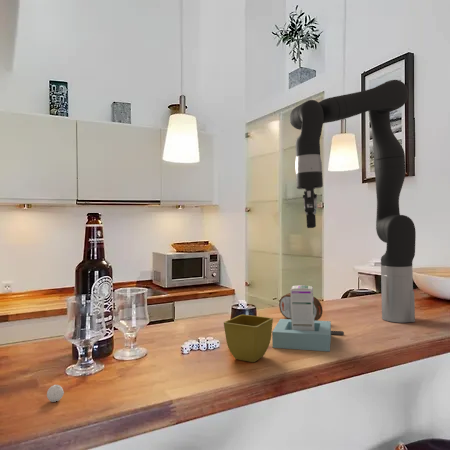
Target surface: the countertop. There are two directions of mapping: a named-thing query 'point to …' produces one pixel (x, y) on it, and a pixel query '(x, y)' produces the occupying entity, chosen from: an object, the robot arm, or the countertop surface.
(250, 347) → the flower pot
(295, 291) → the syrup box
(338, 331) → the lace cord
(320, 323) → the teal square holder
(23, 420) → the countertop surface
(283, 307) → the tin
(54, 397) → the grey ball
